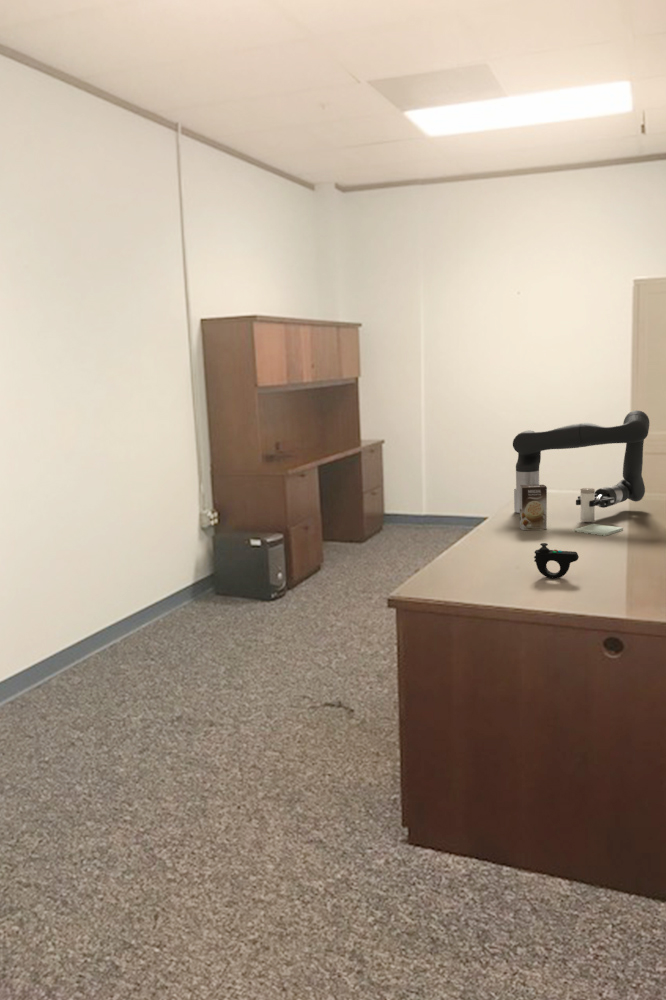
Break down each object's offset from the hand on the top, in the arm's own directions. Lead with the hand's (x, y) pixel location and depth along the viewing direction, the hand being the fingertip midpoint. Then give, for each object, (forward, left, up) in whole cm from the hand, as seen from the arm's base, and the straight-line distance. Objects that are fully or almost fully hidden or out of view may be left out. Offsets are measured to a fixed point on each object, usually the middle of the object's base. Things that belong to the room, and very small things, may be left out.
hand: (583, 503), depth 297 cm
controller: (+35, -68, -8) cm, 77 cm away
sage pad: (+11, -7, -8) cm, 15 cm away
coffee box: (-10, -17, -8) cm, 22 cm away
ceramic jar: (0, +3, -7) cm, 7 cm away
